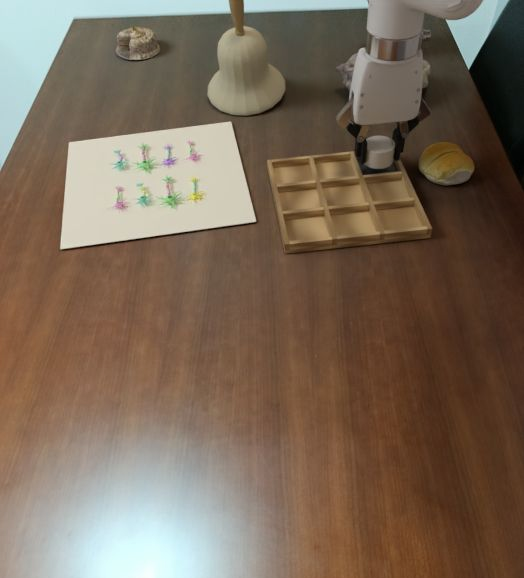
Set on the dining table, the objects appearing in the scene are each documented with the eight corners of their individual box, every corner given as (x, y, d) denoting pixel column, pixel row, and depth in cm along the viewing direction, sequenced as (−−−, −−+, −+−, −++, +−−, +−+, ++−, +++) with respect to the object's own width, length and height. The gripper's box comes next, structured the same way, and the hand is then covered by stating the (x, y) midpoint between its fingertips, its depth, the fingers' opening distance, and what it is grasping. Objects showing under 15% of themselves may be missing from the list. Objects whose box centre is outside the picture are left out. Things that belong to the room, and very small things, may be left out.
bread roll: (452, 151, 100) (457, 130, 97) (479, 180, 94) (485, 159, 91) (407, 161, 98) (411, 140, 95) (432, 191, 93) (437, 169, 90)
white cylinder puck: (388, 150, 97) (391, 133, 95) (396, 167, 94) (399, 150, 92) (359, 153, 97) (360, 137, 95) (365, 170, 94) (367, 154, 91)
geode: (427, 125, 115) (384, 81, 121) (455, 80, 108) (409, 36, 114) (366, 121, 105) (324, 74, 112) (393, 72, 99) (346, 25, 105)
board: (393, 156, 100) (394, 146, 98) (430, 238, 86) (432, 228, 85) (267, 169, 99) (267, 159, 97) (284, 253, 85) (284, 244, 84)
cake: (144, 39, 134) (141, 14, 130) (169, 53, 130) (167, 27, 126) (106, 50, 130) (102, 24, 126) (132, 65, 125) (128, 38, 121)
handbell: (291, 72, 117) (286, -64, 95) (280, 124, 110) (271, -10, 88) (217, 69, 119) (195, -65, 98) (201, 120, 112) (174, -11, 91)
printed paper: (256, 223, 90) (256, 215, 89) (60, 251, 88) (57, 243, 87) (231, 123, 109) (230, 115, 108) (69, 143, 107) (67, 136, 105)
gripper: (443, 25, 84) (422, 140, 98) (327, 36, 83) (322, 150, 97) (460, 48, 79) (435, 165, 93) (337, 60, 78) (330, 176, 92)
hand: (377, 156), depth 95 cm, fingers closed on white cylinder puck, 4 cm apart
